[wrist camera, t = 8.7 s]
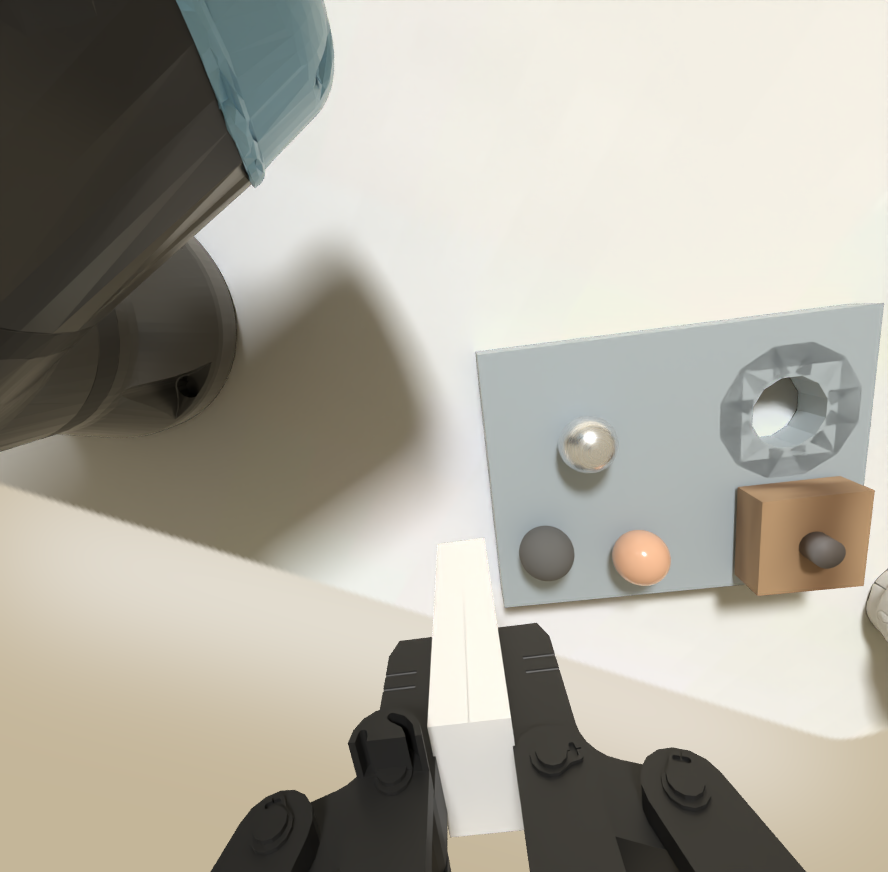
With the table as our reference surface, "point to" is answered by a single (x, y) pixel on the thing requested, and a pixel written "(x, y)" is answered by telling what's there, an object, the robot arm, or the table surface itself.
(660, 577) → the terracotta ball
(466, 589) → the robot arm
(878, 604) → the mug
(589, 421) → the steel ball
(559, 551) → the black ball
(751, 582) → the cover
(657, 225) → the table surface
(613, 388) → the board
